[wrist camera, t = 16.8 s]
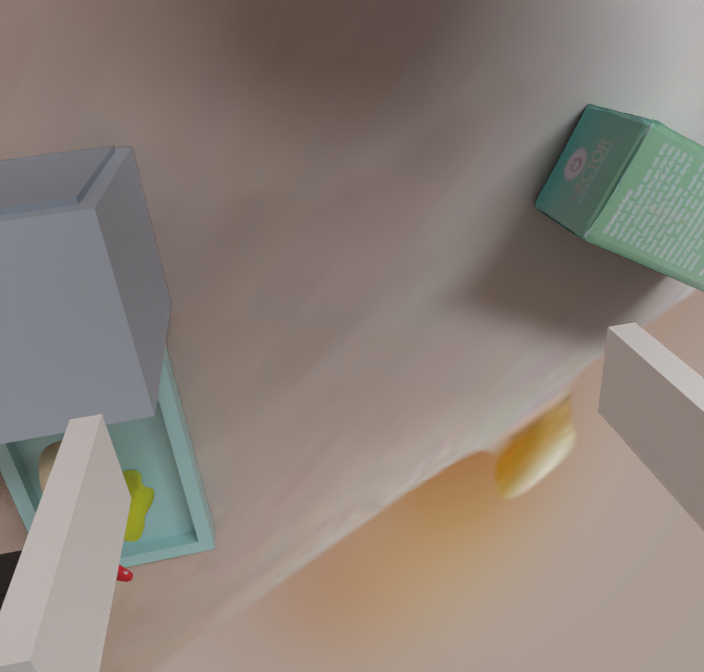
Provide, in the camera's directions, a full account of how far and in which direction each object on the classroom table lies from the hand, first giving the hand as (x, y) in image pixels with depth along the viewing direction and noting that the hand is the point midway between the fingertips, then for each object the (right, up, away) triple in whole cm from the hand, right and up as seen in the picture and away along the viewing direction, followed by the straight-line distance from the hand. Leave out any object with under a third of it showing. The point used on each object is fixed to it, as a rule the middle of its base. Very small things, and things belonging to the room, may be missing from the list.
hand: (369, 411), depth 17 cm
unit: (-18, +7, +22) cm, 29 cm away
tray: (-18, -7, +29) cm, 35 cm away
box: (+19, +12, +28) cm, 35 cm away
